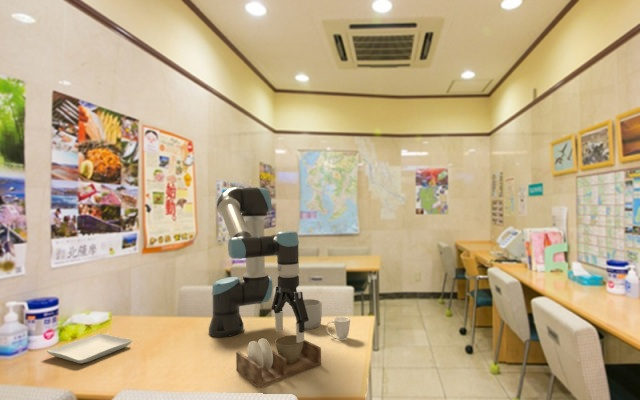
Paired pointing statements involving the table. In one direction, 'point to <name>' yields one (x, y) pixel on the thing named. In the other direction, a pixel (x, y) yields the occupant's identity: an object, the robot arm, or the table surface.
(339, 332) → the cup
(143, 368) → the table surface
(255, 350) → the plates
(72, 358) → the salad plate
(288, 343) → the flower pot
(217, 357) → the table surface
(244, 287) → the robot arm
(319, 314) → the planter
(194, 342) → the table surface
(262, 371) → the rack
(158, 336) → the table surface
